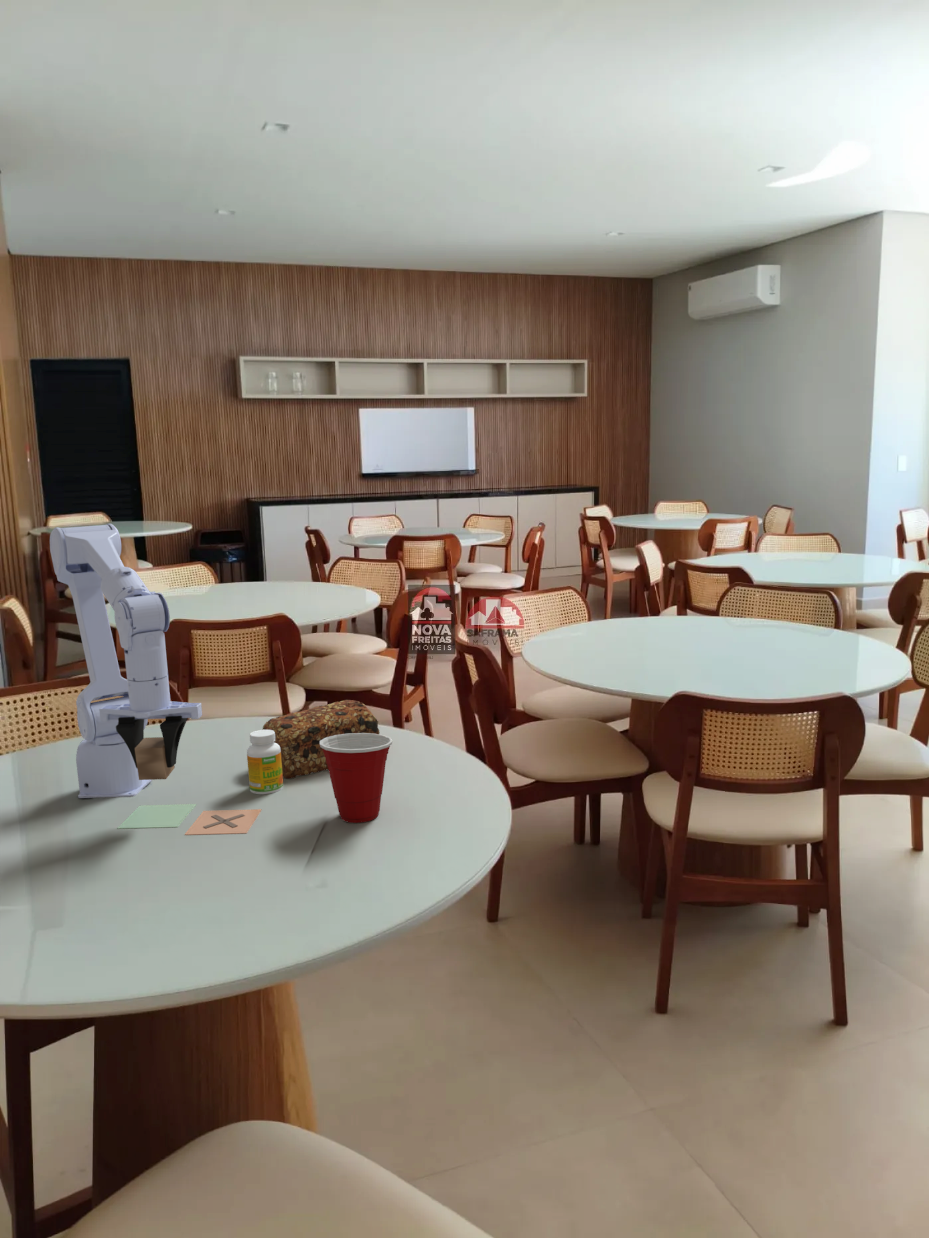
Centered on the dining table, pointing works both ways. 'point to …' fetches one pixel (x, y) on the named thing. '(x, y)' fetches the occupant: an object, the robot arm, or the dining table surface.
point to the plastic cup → (357, 773)
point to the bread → (316, 733)
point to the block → (152, 759)
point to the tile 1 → (157, 816)
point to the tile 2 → (224, 822)
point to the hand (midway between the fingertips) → (156, 765)
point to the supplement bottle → (264, 763)
